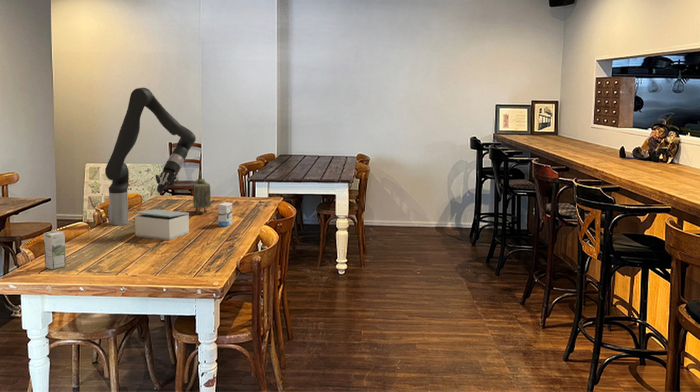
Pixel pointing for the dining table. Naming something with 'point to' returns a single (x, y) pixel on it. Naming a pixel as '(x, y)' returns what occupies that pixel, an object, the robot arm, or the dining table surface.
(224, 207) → the ink box
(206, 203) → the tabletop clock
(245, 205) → the dining table surface
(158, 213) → the lid
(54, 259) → the syrup box
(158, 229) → the storage box
